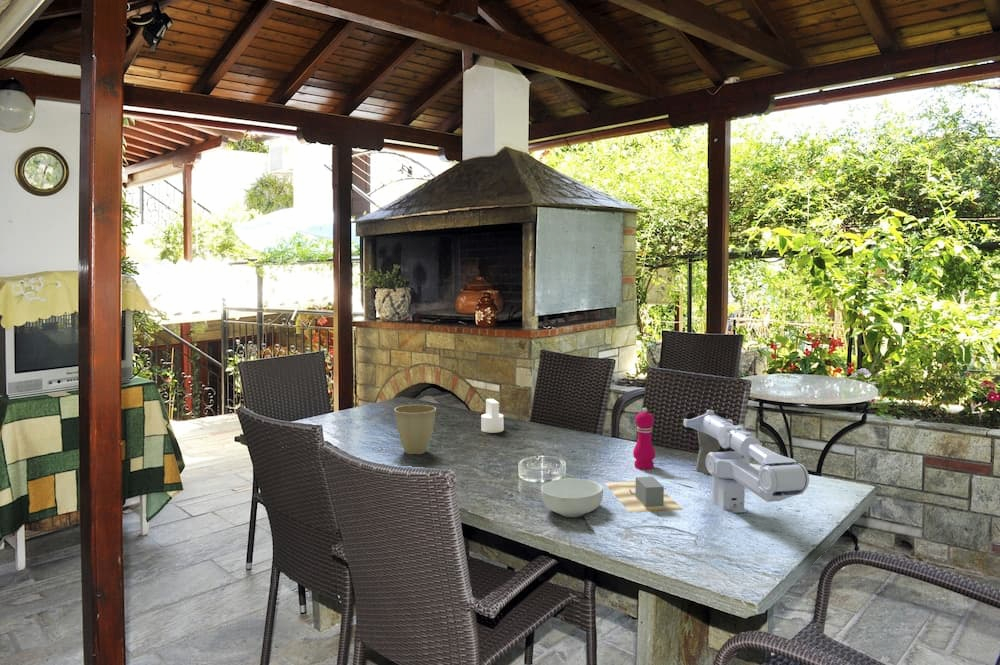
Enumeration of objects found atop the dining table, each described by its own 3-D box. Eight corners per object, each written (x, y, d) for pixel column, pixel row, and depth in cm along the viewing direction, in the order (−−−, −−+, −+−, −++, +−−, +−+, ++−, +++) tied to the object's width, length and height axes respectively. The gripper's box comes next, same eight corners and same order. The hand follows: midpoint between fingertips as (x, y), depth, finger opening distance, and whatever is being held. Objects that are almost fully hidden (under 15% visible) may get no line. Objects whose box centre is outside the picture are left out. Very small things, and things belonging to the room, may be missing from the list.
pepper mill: (639, 470, 232) (639, 410, 230) (629, 464, 239) (629, 406, 237) (659, 469, 234) (660, 409, 232) (648, 463, 241) (649, 404, 239)
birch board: (683, 514, 193) (683, 509, 193) (629, 516, 191) (629, 512, 191) (651, 484, 218) (651, 480, 218) (604, 486, 217) (604, 482, 216)
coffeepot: (686, 465, 237) (687, 412, 235) (712, 463, 240) (713, 411, 238) (711, 479, 222) (712, 423, 221) (738, 477, 225) (739, 421, 223)
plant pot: (416, 460, 247) (415, 414, 245) (386, 453, 256) (385, 409, 254) (445, 450, 259) (444, 407, 257) (415, 444, 268) (414, 402, 266)
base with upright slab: (478, 428, 292) (478, 399, 291) (499, 426, 295) (499, 398, 294) (484, 433, 284) (484, 403, 283) (506, 431, 287) (506, 402, 285)
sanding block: (663, 508, 194) (663, 486, 193) (645, 509, 193) (645, 487, 193) (652, 497, 203) (652, 476, 202) (635, 497, 202) (635, 477, 202)
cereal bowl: (564, 497, 207) (564, 474, 206) (614, 510, 196) (614, 485, 196) (528, 514, 194) (528, 488, 193) (580, 528, 183) (580, 501, 183)
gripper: (741, 414, 203) (719, 403, 216) (694, 413, 200) (674, 402, 213) (739, 438, 203) (717, 426, 217) (692, 438, 201) (672, 426, 214)
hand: (695, 416), depth 215 cm, fingers open, 7 cm apart
